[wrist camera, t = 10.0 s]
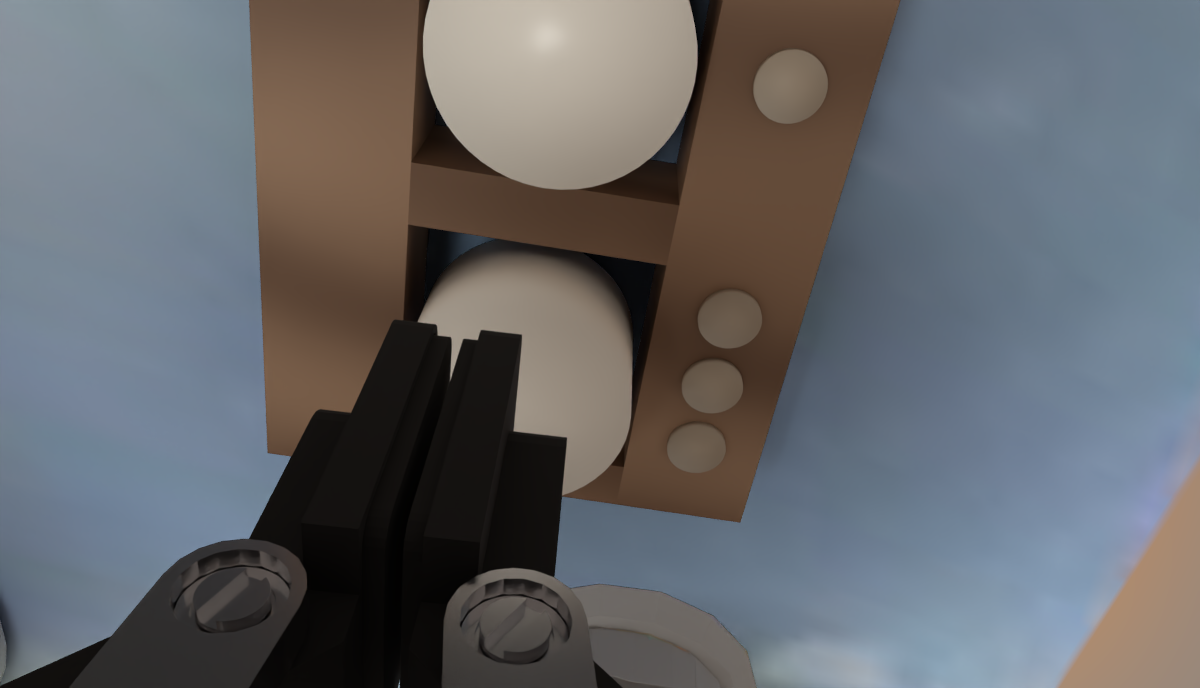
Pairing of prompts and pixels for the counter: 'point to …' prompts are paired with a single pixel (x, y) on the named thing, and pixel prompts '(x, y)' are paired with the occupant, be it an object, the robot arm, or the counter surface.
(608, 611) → the french press
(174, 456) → the counter surface
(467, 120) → the button
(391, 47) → the button panel
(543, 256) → the three-pip button
